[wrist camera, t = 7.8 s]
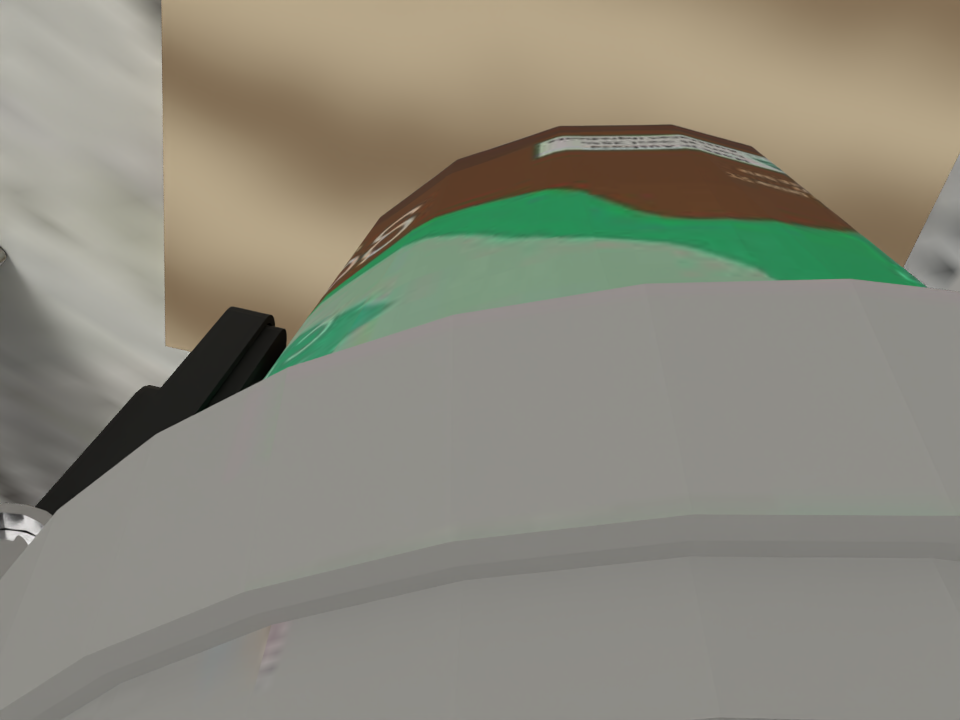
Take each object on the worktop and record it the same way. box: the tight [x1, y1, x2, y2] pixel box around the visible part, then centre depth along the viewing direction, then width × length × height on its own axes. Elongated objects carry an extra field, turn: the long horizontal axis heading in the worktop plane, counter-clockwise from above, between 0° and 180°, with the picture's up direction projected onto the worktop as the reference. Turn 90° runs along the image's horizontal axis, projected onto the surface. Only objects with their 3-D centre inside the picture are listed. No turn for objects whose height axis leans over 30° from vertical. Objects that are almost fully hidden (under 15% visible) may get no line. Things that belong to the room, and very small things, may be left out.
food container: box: [0, 124, 960, 720], centre depth 9 cm, size 12×6×10 cm, turn 160°
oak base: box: [161, 0, 960, 352], centre depth 23 cm, size 16×20×3 cm
